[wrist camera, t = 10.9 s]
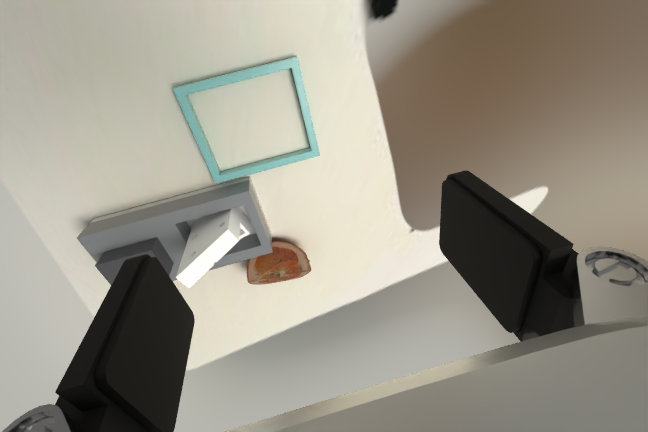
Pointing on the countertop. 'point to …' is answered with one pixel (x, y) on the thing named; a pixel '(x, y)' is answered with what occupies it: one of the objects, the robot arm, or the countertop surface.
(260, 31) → the countertop surface
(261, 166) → the tray frame
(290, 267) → the fruit slice
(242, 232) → the white angled block
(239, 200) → the grey slotted holder
